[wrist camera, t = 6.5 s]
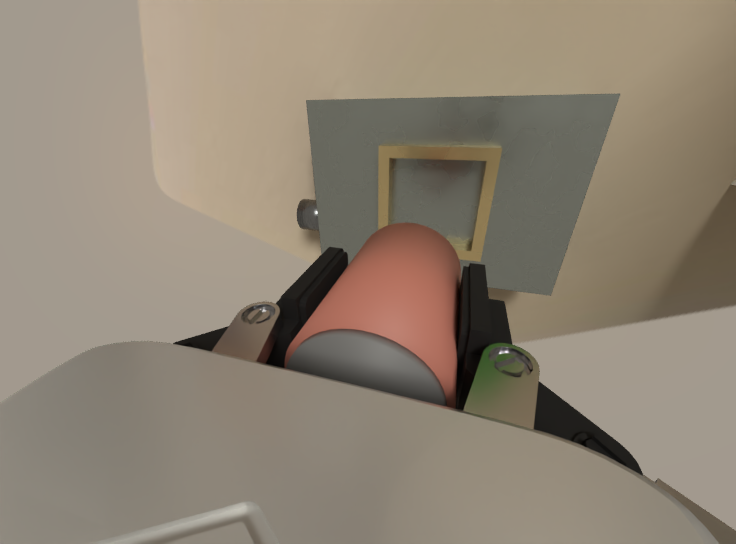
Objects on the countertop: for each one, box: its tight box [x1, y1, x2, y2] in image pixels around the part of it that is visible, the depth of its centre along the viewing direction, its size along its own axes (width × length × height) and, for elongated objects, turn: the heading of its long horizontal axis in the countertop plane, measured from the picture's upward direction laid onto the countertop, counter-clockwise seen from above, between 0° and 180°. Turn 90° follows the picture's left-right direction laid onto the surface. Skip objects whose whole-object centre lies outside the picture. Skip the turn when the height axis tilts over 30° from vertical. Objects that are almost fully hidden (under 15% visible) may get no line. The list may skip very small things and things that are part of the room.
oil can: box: [285, 223, 461, 409], centre depth 10 cm, size 5×5×7 cm
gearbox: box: [297, 94, 620, 296], centre depth 25 cm, size 23×14×7 cm, turn 91°
